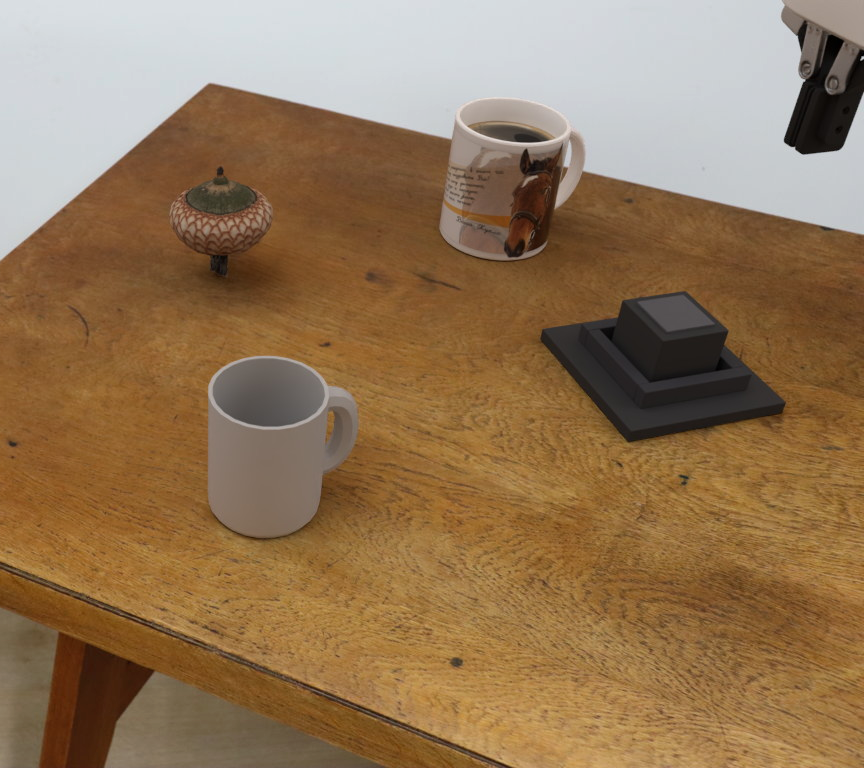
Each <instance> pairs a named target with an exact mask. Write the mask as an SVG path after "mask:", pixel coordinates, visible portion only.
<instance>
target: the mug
mask: <svg viewBox="0 0 864 768" xmlns="http://www.w3.org/2000/svg"><path fill="white" fill-rule="evenodd" d="M452 128H453V129H452V135H451V142H450V148H449V154H448V155H449V156H448V161H447V169H446V174H445V175H446V176H445V182H444V189H443V197H442V204H441V210H440V216H439V223H438V224H439V225H438V226H439V228H438V229H439V232H440V235H441V236H442V238H443V239H444V240H445V241H446V242H447V243H448V244H449V245H450V246H451V247H452V248H454V249H457V250H458V251H460V252H462V253H465V254H466V255H470V256H473V257H476V258H480V259H484V260H485V259H486V260H490V261H517V260H523V259H527V258H528V259H529V258H532V257H533V256H536V255H537V254H540V253H541V252H542V251H543V250H544V249H545V247H546V246H547V244H548V242H549V241H548V240H549V236H550V233H551V227H552V222H553V217H554V212H555V210H556V209H558V208H559V207H561V206H562V205H563V204H564V203H565V202H566V201H567V200H568V199H569V198H570V197H571V195H572V194H573V193H574V191H575V189H576V188H577V187H578V184H579V182H580V181H581V177H582V175H583V171H584V167H585V165H586V164H585V163H586V156H587V155H586V154H587V150H586V149H587V148H586V143H585V139H584V137H583V135H582V134H581V132H580V131H579V130H578V129H576V127H574V126H572V125H571V122H570V121H569V118H567V116H566V115H565V114H563V113H562V112H561V111H559V110H557V109H555V108H553V107H551V106H548V105H546V104H543V103H540V102H537V101H533V100H528V99H523V98H518V97H507V96H506V97H505V96H493V97H492V96H491V97H490V96H489V97H482V98H476V99H473V100H469V101H467V102H465V103H463V104H462V105H460V106H459V107H458V108H457V110H456V112H455V115H454V121H453V126H452ZM569 143H570V149H571V153H570V161H569V165H568V167H567V170H566V172H565V175H564V176H563V178H562V175H563V171H564V166H565V162H566V156H567V152H568V147H569Z"/></svg>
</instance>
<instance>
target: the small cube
mask: <svg viewBox="0 0 864 768" xmlns="http://www.w3.org/2000/svg"><path fill="white" fill-rule="evenodd" d="M617 317H618V319H617V323H616V326H615V330H614V334H613V338H612V341H611V342H612V343H613V344H614V345H615V346H616V347H617V348H618V350H619V351H620V352H621V353H622V354H623V355H624V356H625V357H626V358H627V359H628V360H629V361H630V362H631V363H632V364H633V365H634V367H635V368H636V369H637V370H638V371H639V372H640V373H641V374H642V375H643V376H644V377H645V378H646V379H647V380H648V381H649V383H651V382H657V381H663V380H669V379H674V378H680V377H686V376H692V375H698V374H703V373H709V372H715V370H716V367H717V364H718V361H719V358H720V355H721V352H722V349H723V346H724V345H725V343H726V341H727V338H728V334H729V332H730V330H729V329H728V328H727V327H726V326H724V325H723V324H722V323H721V321H719V320H718V319H717V318H716V317H715V316H714V315H713V314H712V313H710V312H709V311H708V309H706V308H705V307H704V306H703V305H702V304H700V303H699V301H698V300H696V299H695V298H694V297H693V296H692V295H691V294H690V293H689V292H687V291H686V290H681V291H675V292H669V293H662V294H661V293H660V294H656V295H655V294H654V295H648V296H641V297H635V298H629V299H628V298H627V299H623V300H622V301H621V304H620V307H619V311H618V315H617Z"/></svg>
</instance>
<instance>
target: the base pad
mask: <svg viewBox="0 0 864 768" xmlns="http://www.w3.org/2000/svg"><path fill="white" fill-rule="evenodd" d="M617 319H618V316H617V317H611V318H604V319H598V320H592V321H586V322H579V323H573V324H572V323H571V324H566V325H560V326H559V325H558V326H552V327H546V328H542V329H541V333H540V338H539V340H540V341H541V342H542V343H543V344H544V346H546V348H547V349H548V350H549V351H550V353H552V355H553V356H554V357H555V358H556V359H557V361H558V362H559V363H560V364H561V365H562V366H563V368H564V369H565V370H566V371H567V372H568V373H569V375H570V376H571V377H572V378H573V379H574V380H575V382H576V383H577V384H578V385H579V387H580V388H581V389H582V390H583V391H584V392H585V394H586V395H588V397H589V399H591V401H593V403H594V404H595V405H596V407H598V409H599V410H600V411H601V412H602V413H603V415H604V416H605V417H606V418H607V419H608V420H609V421H610V422H611V424H612V425H613V426H614V428H616V430H617V431H618V432H619V433H620V434H621V435H622V437H623V438H624V439H625V440H626V441H627V442H628V443H629V442H633V441H634V442H635V441H639V440H644V439H650V438H651V439H652V438H657V437H660V436H666V435H667V436H668V435H672V434H676V433H682V432H687V431H693V430H698V429H703V428H708V427H714V426H720V425H725V424H730V423H735V422H740V421H741V422H742V421H745V420H751V419H757V418H761V417H767V416H772V415H777V414H782V413H783V411H784V409H785V407H786V404H787V401H785V400H784V399H783V398H782V397H781V396H780V395H779V394H778V393H777V392H776V391H775V390H774V389H773V388H771V387H770V385H768V383H766V382H765V381H764V379H762V378H761V377H760V376H759V375H757V374H756V373H755V372H754V371H753V370H752V369H751V368H750V367H749V366H748V365H747V363H745V362H743V360H742V359H740V358H739V357H738V356H737V355H736V354H735V353H734V352H733V351H732V350H731V349H730V348H728V346H726V345H725V344H724V346H723V349H722V352H721V355H720V358H719V361H718V364H717V367H716V370H715V372H709V373H703V374H698V375H692V376H686V377H680V378H674V379H669V380H663V381H657V382H651V383H649V381H648V380H647V379H646V378H645V377H644V376H643V375H642V374H641V373H640V372H639V371H638V370H637V369H636V368H635V367H634V365H633V364H632V363H631V362H630V361H629V360H628V359H627V358H626V357H625V356H624V355H623V354H622V353H621V352H620V351H619V350H618V348H617V347H616V346H615V345H614V344H613V343H612V342H611V341H612V338H613V334H614V330H615V326H616V323H617Z"/></svg>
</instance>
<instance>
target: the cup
mask: <svg viewBox="0 0 864 768" xmlns="http://www.w3.org/2000/svg"><path fill="white" fill-rule="evenodd" d="M330 412H332V413H333V416H334V417H333V427H332V431H331V434H330V436H329V438H328V440H327V429H328V418H329V413H330ZM359 425H360V420H359V411H358V404H357V401H356V400H355V398H354V396H353V394H352V393H351V392H349V391H347V390H346V389H344V388H342V387H340V386H337V385H336V386H335V385H328V384H327V382H326V380H325V379H324V377H323V375H321V374H320V373H319V372H318V371H317V370H316V369H314V368H313V367H311V366H309V365H307V364H305V363H304V362H302V361H299V360H295V359H293V358H289V357H283V356H277V355H254V356H249V357H248V356H247V357H243V358H240V359H237V360H234V361H231V362H229V363H228V364H226V365H225V366H223V367H221V368H219V369H218V371H216V372H215V374H214V375H213V376H211V379H210V381H209V384H208V386H207V499H208V501H207V502H208V504H209V507H210V510H211V512H212V513H213V515H214V516H215V517H216V518H217V519H218V521H219V522H220V523H222V524H223V525H224V526H225V527H227V528H228V529H230V530H231V531H233V532H235V533H238V534H240V535H242V536H245V537H249V538H250V537H251V538H256V539H274V538H280V537H284V536H288V535H291V534H293V533H295V532H297V531H299V530H300V529H301V528H303V527H304V526H306V525H307V524H308V523H309V522H311V520H312V519H313V517H314V516H315V515H316V514H317V512H318V508H319V505H320V501H321V496H322V488H323V487H322V485H323V476H324V475H326V474H329V473H332V472H333V471H335V470H336V469H338V468H339V467H340V466H341V465H342V464H343V463H344V462H345V461H346V460H347V459H348V458H349V456H350V454H351V452H352V450H353V449H354V447H355V445H356V441H357V438H358V434H359ZM326 440H327V442H326Z"/></svg>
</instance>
